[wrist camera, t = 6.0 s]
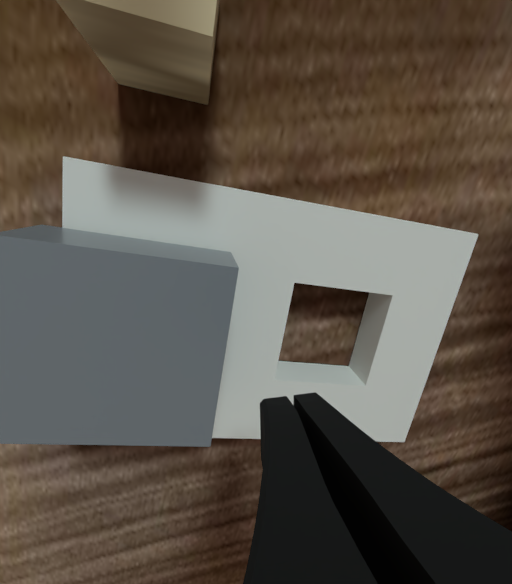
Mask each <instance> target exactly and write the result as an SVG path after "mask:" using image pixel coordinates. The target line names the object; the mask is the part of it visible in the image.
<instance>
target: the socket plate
mask: <svg viewBox="0 0 512 584" xmlns="http://www.w3.org/2000/svg"><path fill="white" fill-rule="evenodd" d="M62 228H68V229H75V230H81V231H88V232H95V233H102V234H109V235H116V236H123V237H130V238H137V239H144V240H151V241H157V242H164V243H171V244H178V245H185V246H192V247H199V248H206V249H213V250H220V251H227V252H231V253H232V255H233V257H234V259H235V261H236V263H237V265H238V267H239V270H238V277H237V283H236V289H235V295H234V302H233V308H232V314H231V321H230V327H229V333H228V339H227V346H226V352H225V358H224V364H223V371H222V377H221V383H220V390H219V396H218V402H217V408H216V415H215V421H214V427H213V433H212V438H236V439H261V431H260V402H261V401H262V400H263V399H267V398H275V397H283V396H287V397H288V399H289V400H290V401H291V403H292V404H294V395H298V394H306V393H314V392H316V393H317V394H318V395H320V396H321V397H322V398H323V399H324V400H326V401H327V402H328V403H329V404H330V405H332V406H333V407H334V408H335V409H336V410H338V411H339V412H340V413H341V414H342V415H344V416H345V417H346V418H347V419H348V420H350V421H351V422H352V423H353V424H354V425H356V426H357V427H358V428H359V429H361V430H362V431H363V432H364V433H366V434H367V435H368V436H369V437H371V438H372V439H373V440H375V441H377V442H405V439H406V436H407V434H408V431H409V428H410V425H411V422H412V420H413V417H414V414H415V411H416V408H417V406H418V403H419V400H420V397H421V394H422V392H423V389H424V386H425V383H426V380H427V377H428V375H429V372H430V369H431V366H432V363H433V361H434V358H435V355H436V352H437V349H438V347H439V344H440V341H441V338H442V335H443V333H444V330H445V327H446V324H447V321H448V319H449V316H450V313H451V310H452V307H453V305H454V302H455V299H456V296H457V293H458V291H459V288H460V285H461V282H462V279H463V276H464V274H465V271H466V268H467V265H468V262H469V260H470V257H471V254H472V251H473V248H474V246H475V243H476V240H477V237H478V234H475V233H470V232H465V231H459V230H454V229H448V228H443V227H438V226H432V225H427V224H422V223H416V222H411V221H406V220H400V219H395V218H390V217H384V216H379V215H374V214H368V213H363V212H358V211H352V210H347V209H342V208H336V207H331V206H326V205H320V204H315V203H310V202H304V201H299V200H294V199H288V198H283V197H278V196H272V195H267V194H262V193H256V192H251V191H246V190H240V189H235V188H230V187H224V186H219V185H214V184H208V183H203V182H198V181H192V180H187V179H182V178H176V177H171V176H166V175H160V174H155V173H150V172H144V171H139V170H133V169H128V168H123V167H117V166H112V165H107V164H101V163H96V162H91V161H85V160H80V159H75V158H69V157H64V156H63V217H62ZM294 283H301V284H309V285H316V286H324V287H332V288H339V289H347V290H355V291H363V292H369V295H368V299H367V302H366V306H365V309H364V313H363V317H362V320H361V324H360V327H359V331H358V335H357V338H356V342H355V345H354V349H353V353H352V356H351V360H350V363H349V366H339V365H326V364H313V363H299V362H286V361H278V359H279V354H280V350H281V345H282V340H283V335H284V331H285V326H286V321H287V316H288V312H289V307H290V302H291V297H292V292H293V288H294Z"/></svg>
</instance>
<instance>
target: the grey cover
mask: <svg viewBox="0 0 512 584" xmlns="http://www.w3.org/2000/svg"><path fill="white" fill-rule="evenodd" d="M238 270H239V267H238V265H237V263H236V261H235V259H234V257H233V255H232V253H231V252H227V251H220V250H213V249H206V248H199V247H192V246H185V245H178V244H171V243H164V242H157V241H151V240H144V239H137V238H130V237H123V236H116V235H109V234H102V233H95V232H88V231H81V230H75V229H68V228H61V227H54V226H47V225H37V226H32V227H26V228H20V229H15V230H9V231H3V232H0V443H1V444H65V445H130V446H194V447H210V446H211V440H212V433H213V427H214V421H215V415H216V408H217V402H218V396H219V390H220V383H221V377H222V371H223V364H224V358H225V352H226V346H227V339H228V333H229V327H230V321H231V314H232V308H233V302H234V295H235V289H236V283H237V277H238Z"/></svg>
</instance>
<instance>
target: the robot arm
mask: <svg viewBox="0 0 512 584" xmlns="http://www.w3.org/2000/svg"><path fill="white" fill-rule="evenodd" d="M260 431H261V460H262V466H263V473H262V481H261V489H260V497H259V504H258V511H257V517H256V523H255V529H254V534H253V539H252V545H251V550H250V555H249V560H248V565H247V569H246V574H245V578H244V582H243V584H512V531H510V530H508V529H507V528H505V527H503V526H501V525H500V524H498V523H496V522H495V521H493V520H491V519H490V518H488V517H486V516H485V515H483V514H481V513H480V512H478V511H477V510H475V509H473V508H472V507H470V506H469V505H467V504H465V503H464V502H462V501H461V500H459V499H457V498H456V497H454V496H453V495H451V494H449V493H448V492H446V491H445V490H443V489H442V488H440V487H439V486H437V485H436V484H434V483H433V482H431V481H430V480H428V479H427V478H425V477H424V476H422V475H421V474H420V473H418V472H417V471H415V470H414V469H413V468H411V467H410V466H408V465H407V464H405V463H404V462H403V461H401V460H400V459H398V458H397V457H396V456H394V455H393V454H392V453H390V452H389V451H388V450H386V449H385V448H384V447H382V446H381V445H380V444H378V443H377V442H376V441H375V440H373V439H372V438H371V437H369V436H368V435H367V434H366V433H364V432H363V431H362V430H361V429H359V428H358V427H357V426H356V425H354V424H353V423H352V422H351V421H350V420H348V419H347V418H346V417H345V416H344V415H342V414H341V413H340V412H339V411H338V410H336V409H335V408H334V407H333V406H332V405H330V404H329V403H328V402H327V401H326V400H324V399H323V398H322V397H321V396H320V395H318V394H317V393H316V392H314V393H306V394H298V395H294V404H292V403H291V401H290V400H289V399H288V397H287V396H283V397H275V398H267V399H263V400H262V401H261V402H260Z"/></svg>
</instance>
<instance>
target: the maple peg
mask: <svg viewBox="0 0 512 584" xmlns="http://www.w3.org/2000/svg"><path fill="white" fill-rule="evenodd" d="M56 1H57V2H58V4H59V5H60V6H61V8H62V9H63V10H64V12H65V13H66V14H67V16H68V17H69V19H70V20H71V21H72V23H73V24H74V25H75V27H76V28H77V29H78V31H79V32H80V33H81V35H82V36H83V37H84V39H85V40H86V41H87V43H88V44H89V45H90V47H91V48H92V50H93V51H94V52H95V54H96V55H97V56H98V58H99V59H100V60H101V62H102V63H103V64H104V66H105V67H106V68H107V70H108V71H109V72H110V74H111V75H112V76H113V78H114V79H115V81H116V82H117V83H118V84H121V85H125V86H129V87H133V88H138V89H142V90H146V91H150V92H155V93H159V94H163V95H167V96H171V97H176V98H180V99H184V100H188V101H193V102H197V103H201V104H205V105H208V102H209V93H210V84H211V76H212V67H213V58H214V49H215V41H216V32H217V23H218V15H219V6H220V0H56Z"/></svg>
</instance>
